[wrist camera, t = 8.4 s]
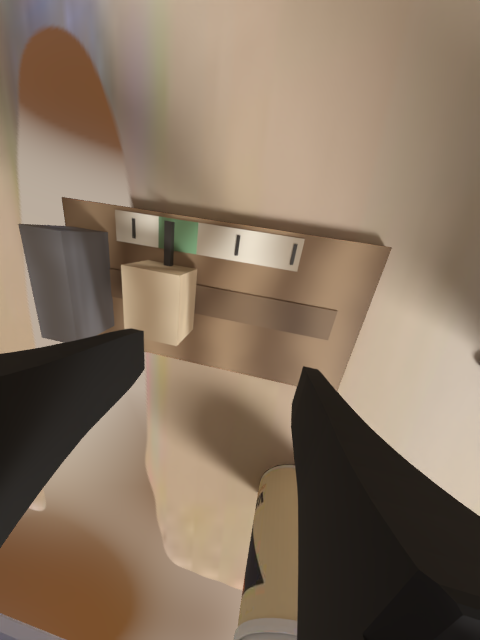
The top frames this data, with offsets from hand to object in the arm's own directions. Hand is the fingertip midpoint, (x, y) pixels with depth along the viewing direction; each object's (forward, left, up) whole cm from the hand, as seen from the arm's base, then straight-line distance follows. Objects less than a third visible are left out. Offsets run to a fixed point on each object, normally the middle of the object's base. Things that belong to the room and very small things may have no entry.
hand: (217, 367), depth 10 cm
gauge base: (+3, +2, -9) cm, 10 cm away
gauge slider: (+6, +2, -8) cm, 10 cm away
